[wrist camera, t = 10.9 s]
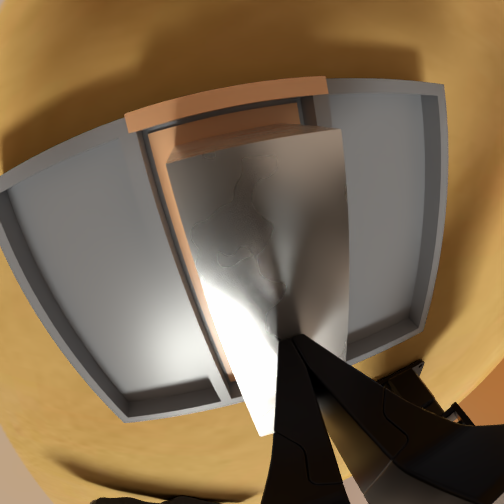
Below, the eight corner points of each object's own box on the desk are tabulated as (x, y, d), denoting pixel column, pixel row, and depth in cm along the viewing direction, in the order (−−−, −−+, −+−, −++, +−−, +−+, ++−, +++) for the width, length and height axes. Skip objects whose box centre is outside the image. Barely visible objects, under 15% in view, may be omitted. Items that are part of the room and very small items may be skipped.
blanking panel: (308, 348, 16) (340, 409, 12) (241, 369, 15) (259, 436, 11) (280, 123, 10) (341, 129, 6) (174, 146, 9) (165, 164, 6)
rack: (407, 314, 18) (433, 341, 15) (126, 399, 16) (123, 438, 13) (416, 84, 11) (462, 85, 8) (3, 178, 9) (-38, 198, 6)
